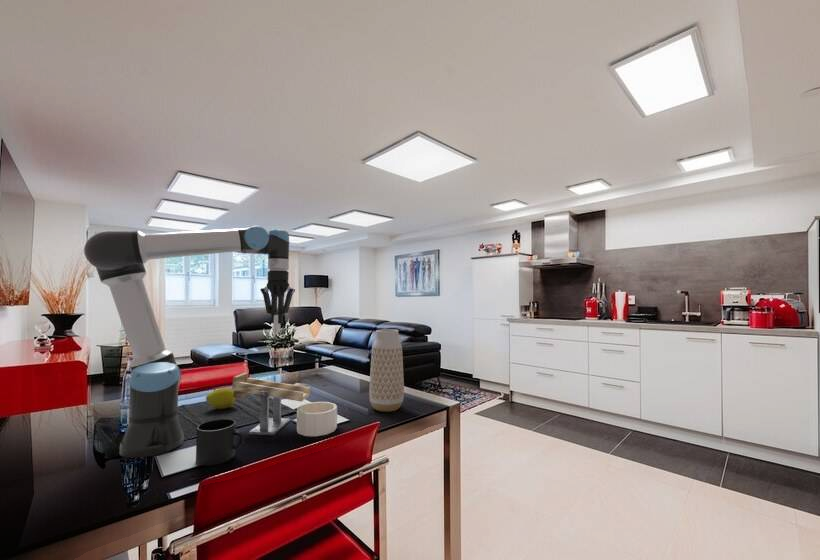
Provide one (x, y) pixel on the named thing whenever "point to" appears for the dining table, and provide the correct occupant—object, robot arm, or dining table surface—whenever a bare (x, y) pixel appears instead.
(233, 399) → the lemon
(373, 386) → the vase
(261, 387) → the lever
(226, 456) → the mug
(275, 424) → the stand
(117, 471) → the dining table surface
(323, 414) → the pot
